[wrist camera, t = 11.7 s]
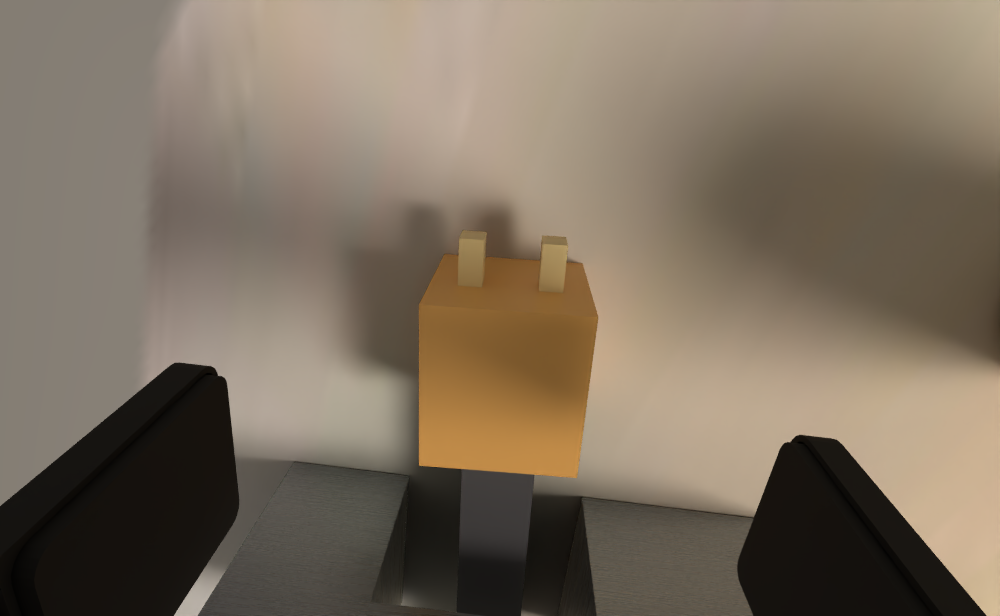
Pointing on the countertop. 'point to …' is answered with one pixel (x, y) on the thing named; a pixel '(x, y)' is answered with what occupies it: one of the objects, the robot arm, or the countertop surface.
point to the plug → (503, 399)
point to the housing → (378, 612)
